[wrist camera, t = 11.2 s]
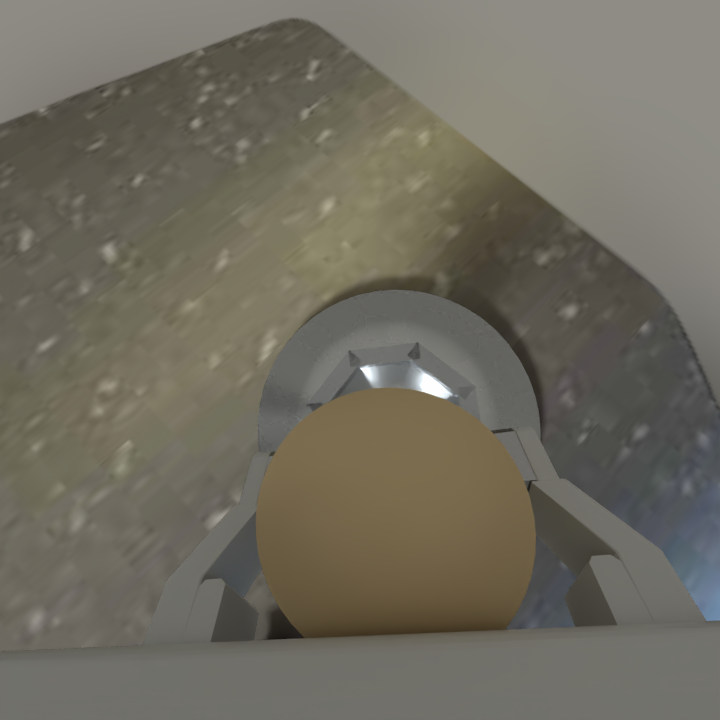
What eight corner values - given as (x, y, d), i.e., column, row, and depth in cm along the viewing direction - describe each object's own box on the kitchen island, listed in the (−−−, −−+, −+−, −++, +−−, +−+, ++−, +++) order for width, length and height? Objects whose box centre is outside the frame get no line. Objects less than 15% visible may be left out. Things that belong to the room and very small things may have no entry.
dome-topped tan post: (315, 453, 15) (203, 540, 7) (384, 366, 15) (367, 333, 7) (404, 529, 15) (414, 743, 6) (476, 438, 15) (597, 512, 6)
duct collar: (212, 443, 24) (187, 451, 21) (372, 243, 24) (368, 223, 21) (417, 628, 22) (420, 665, 19) (593, 405, 22) (624, 408, 19)
